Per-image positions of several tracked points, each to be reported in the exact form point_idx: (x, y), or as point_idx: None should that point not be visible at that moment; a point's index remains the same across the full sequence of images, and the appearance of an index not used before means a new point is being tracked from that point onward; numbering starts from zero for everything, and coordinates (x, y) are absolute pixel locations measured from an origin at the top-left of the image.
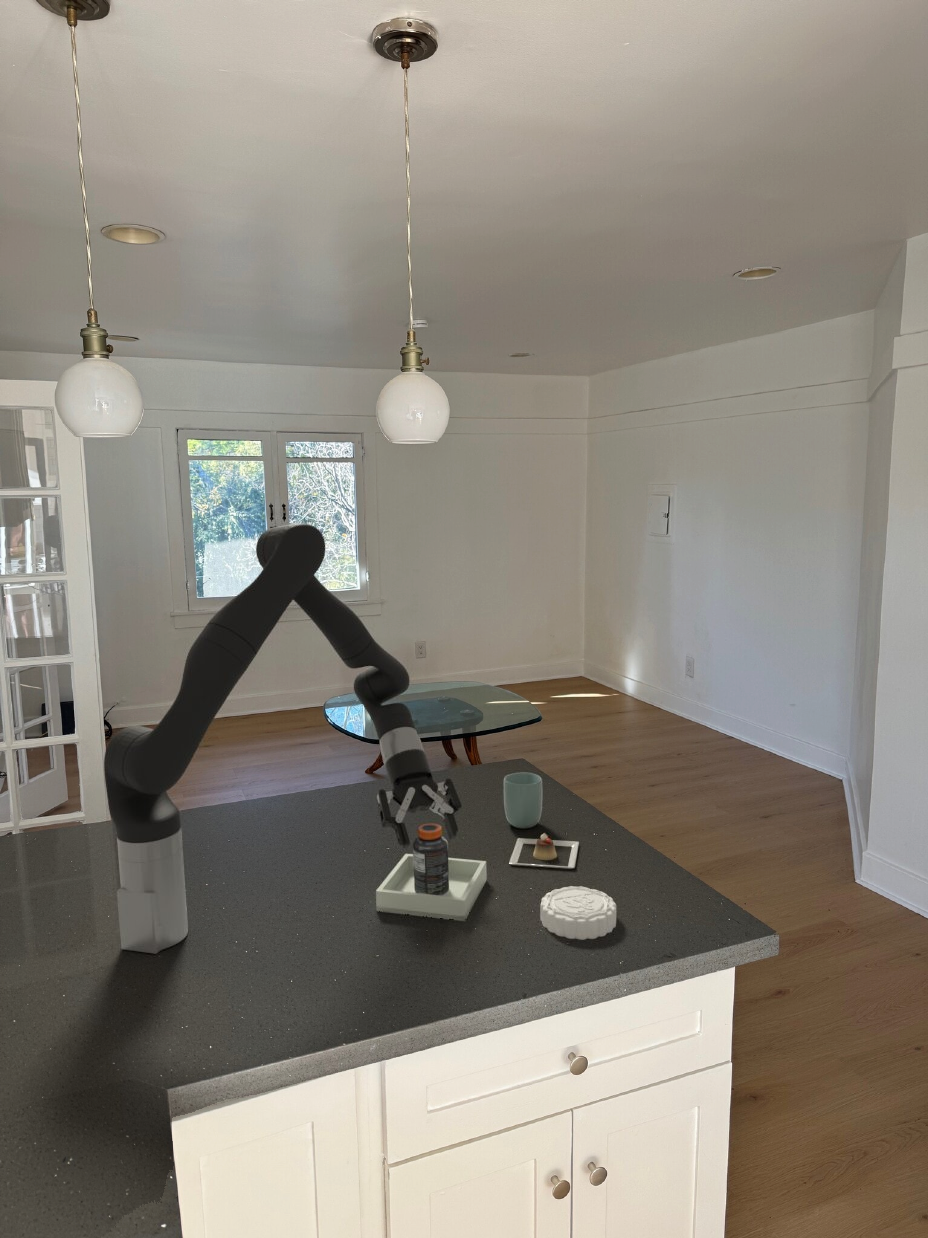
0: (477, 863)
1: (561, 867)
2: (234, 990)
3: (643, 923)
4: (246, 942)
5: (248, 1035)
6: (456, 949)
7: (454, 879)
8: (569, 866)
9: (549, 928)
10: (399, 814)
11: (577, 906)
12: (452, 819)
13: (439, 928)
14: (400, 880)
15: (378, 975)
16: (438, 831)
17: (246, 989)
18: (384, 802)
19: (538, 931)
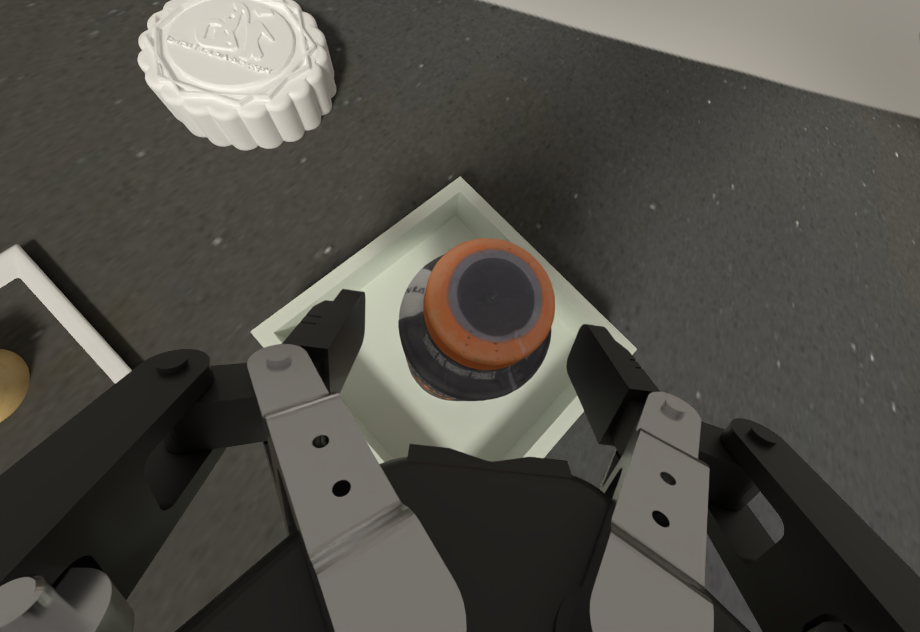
0: (281, 342)
1: (40, 272)
2: (881, 250)
3: (161, 10)
4: (875, 391)
5: (854, 147)
6: (521, 143)
7: (364, 375)
8: (11, 271)
9: (334, 83)
10: (682, 437)
11: (256, 22)
12: (303, 340)
13: (513, 217)
14: (502, 458)
15: (667, 158)
16: (472, 240)
17: (863, 242)
18: (901, 588)
19: (353, 101)
